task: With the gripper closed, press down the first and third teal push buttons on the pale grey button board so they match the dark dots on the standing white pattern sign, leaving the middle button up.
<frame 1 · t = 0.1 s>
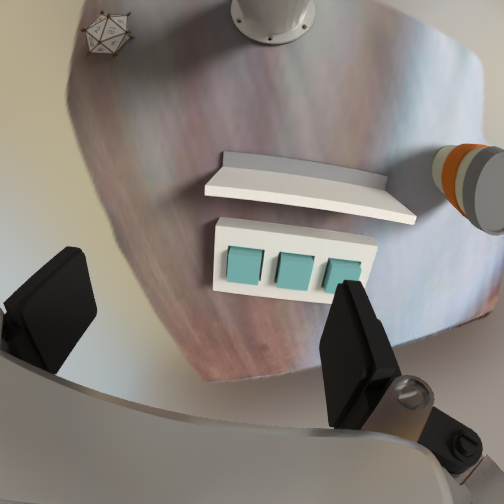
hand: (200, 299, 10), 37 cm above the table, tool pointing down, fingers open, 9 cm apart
grey geometric polyhedron ornament: (120, 38, 34), on the table
reusable coffee cup: (450, 169, 40), on the table
button b: (294, 270, 46), point 4 cm above the table, slide at 0.0 cm
button board: (292, 258, 50), on the table
button c: (341, 276, 46), point 4 cm above the table, slide at 0.0 cm
button a: (244, 264, 46), point 4 cm above the table, slide at 0.0 cm
pattern sign: (306, 179, 44), on the table
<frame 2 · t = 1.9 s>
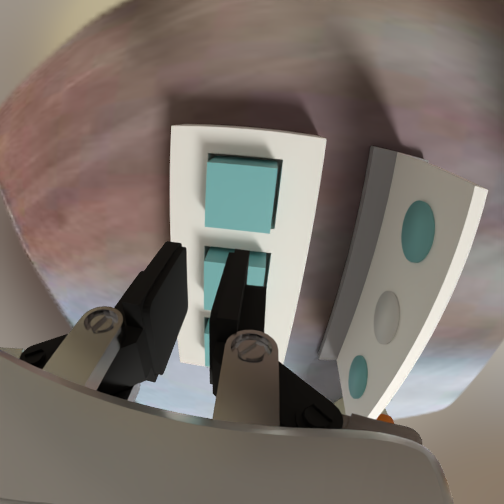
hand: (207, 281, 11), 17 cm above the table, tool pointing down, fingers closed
button b: (235, 279, 26), point 4 cm above the table, slide at 0.0 cm
button board: (240, 257, 30), on the table
button c: (231, 342, 30), point 4 cm above the table, slide at 0.0 cm
button a: (241, 192, 22), point 4 cm above the table, slide at 0.0 cm
pattern sign: (369, 271, 29), on the table
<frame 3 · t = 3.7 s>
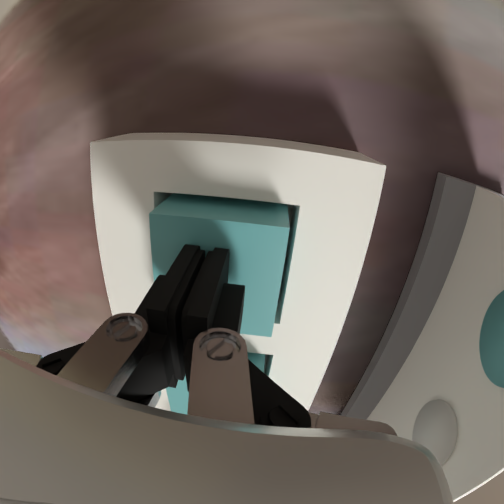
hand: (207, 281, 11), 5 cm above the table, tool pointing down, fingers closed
button b: (216, 384, 16), point 4 cm above the table, slide at 0.0 cm
button board: (227, 336, 19), on the table
button a: (221, 260, 12), point 4 cm above the table, slide at 0.6 cm, touching gripper
pattern sign: (410, 348, 19), on the table
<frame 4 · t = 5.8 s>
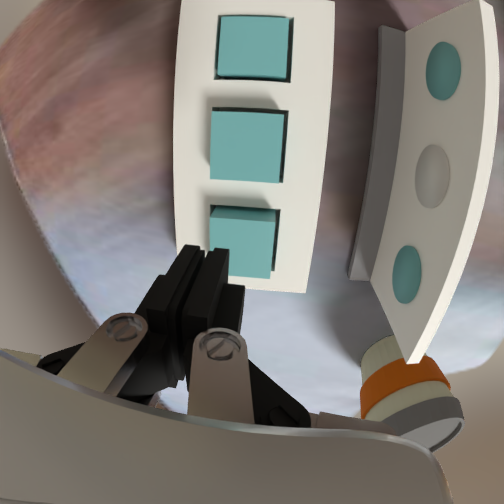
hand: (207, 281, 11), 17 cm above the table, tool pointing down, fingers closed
reusable coffee cup: (389, 356, 36), on the table
button b: (247, 144, 21), point 4 cm above the table, slide at 0.0 cm
button board: (252, 140, 25), on the table
button c: (243, 240, 24), point 4 cm above the table, slide at 0.0 cm
button a: (254, 49, 18), point 3 cm above the table, slide at 1.4 cm
pattern sign: (398, 159, 24), on the table
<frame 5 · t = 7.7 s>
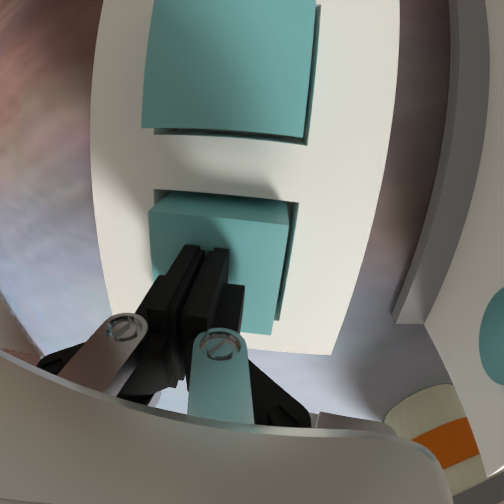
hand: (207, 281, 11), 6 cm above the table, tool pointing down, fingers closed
reusable coffee cup: (421, 407, 24), on the table
button b: (232, 60, 8), point 4 cm above the table, slide at 0.0 cm
button board: (245, 76, 12), on the table
button c: (221, 258, 12), point 4 cm above the table, slide at 0.5 cm, touching gripper
pattern sign: (481, 135, 12), on the table
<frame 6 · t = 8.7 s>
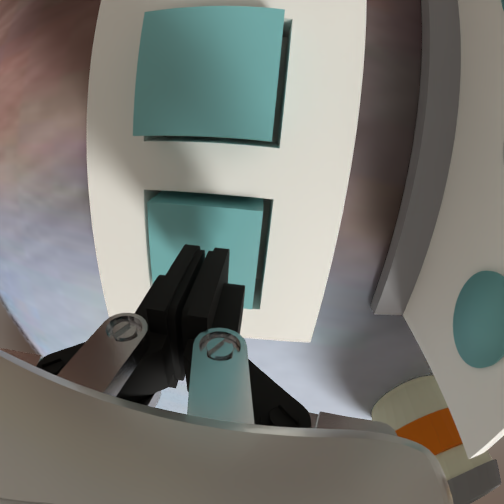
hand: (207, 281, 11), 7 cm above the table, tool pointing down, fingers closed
reusable coffee cup: (408, 400, 25), on the table
button b: (212, 74, 10), point 4 cm above the table, slide at 0.0 cm
button board: (226, 85, 13), on the table
button c: (208, 243, 14), point 3 cm above the table, slide at 1.4 cm
pattern sign: (453, 132, 13), on the table
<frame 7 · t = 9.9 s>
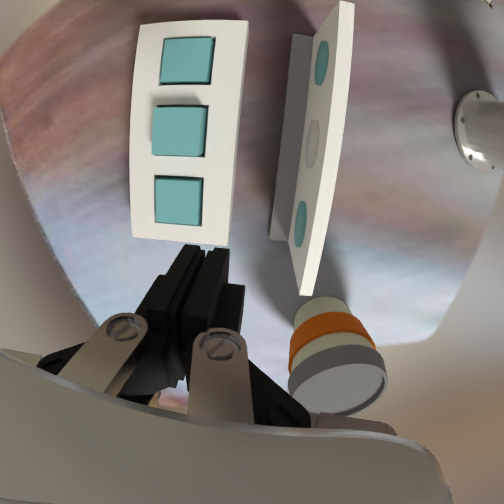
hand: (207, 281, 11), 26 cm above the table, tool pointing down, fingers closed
reusable coffee cup: (321, 318, 44), on the table
button b: (179, 130, 28), point 4 cm above the table, slide at 0.0 cm
button board: (189, 129, 32), on the table
button c: (180, 198, 33), point 3 cm above the table, slide at 1.4 cm
button a: (188, 62, 26), point 3 cm above the table, slide at 1.4 cm
pattern sign: (306, 139, 32), on the table
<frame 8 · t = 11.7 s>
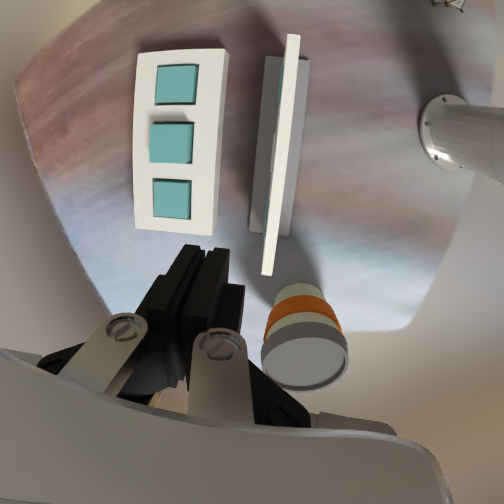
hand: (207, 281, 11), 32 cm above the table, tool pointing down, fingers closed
reusable coffee cup: (299, 303, 50), on the table
button b: (171, 142, 35), point 4 cm above the table, slide at 0.0 cm
button board: (181, 139, 39), on the table
button c: (174, 196, 40), point 3 cm above the table, slide at 1.4 cm
button a: (178, 85, 33), point 3 cm above the table, slide at 1.4 cm
pattern sign: (278, 146, 39), on the table
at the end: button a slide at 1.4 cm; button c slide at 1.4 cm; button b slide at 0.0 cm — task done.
